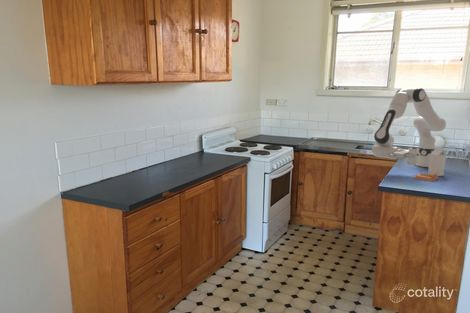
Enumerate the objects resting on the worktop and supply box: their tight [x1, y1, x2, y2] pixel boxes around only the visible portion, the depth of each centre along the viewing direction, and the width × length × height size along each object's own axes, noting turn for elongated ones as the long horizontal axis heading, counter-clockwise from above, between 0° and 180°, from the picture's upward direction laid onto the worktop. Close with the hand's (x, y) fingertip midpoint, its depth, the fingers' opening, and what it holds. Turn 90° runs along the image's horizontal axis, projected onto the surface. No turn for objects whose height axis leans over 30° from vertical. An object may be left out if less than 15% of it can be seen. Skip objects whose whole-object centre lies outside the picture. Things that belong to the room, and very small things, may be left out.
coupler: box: [413, 173, 439, 182], centre depth 263 cm, size 14×12×4 cm
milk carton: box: [427, 147, 447, 177], centre depth 272 cm, size 7×7×19 cm
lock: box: [407, 146, 419, 166], centre depth 265 cm, size 5×6×12 cm
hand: (414, 155), depth 265 cm, fingers closed on lock, 5 cm apart
